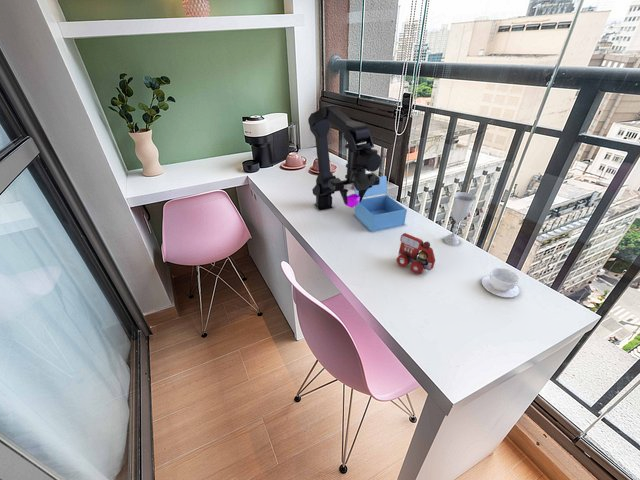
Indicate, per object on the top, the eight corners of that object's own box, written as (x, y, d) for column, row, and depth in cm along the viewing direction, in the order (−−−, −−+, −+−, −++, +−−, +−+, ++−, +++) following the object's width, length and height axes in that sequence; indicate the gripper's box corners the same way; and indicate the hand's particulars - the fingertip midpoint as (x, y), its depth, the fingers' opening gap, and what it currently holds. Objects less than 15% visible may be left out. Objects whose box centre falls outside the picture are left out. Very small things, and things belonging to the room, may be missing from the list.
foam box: (354, 215, 132) (355, 200, 128) (384, 209, 136) (387, 194, 132) (371, 231, 120) (373, 216, 116) (404, 225, 124) (407, 209, 120)
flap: (355, 198, 127) (355, 198, 128) (387, 193, 131) (386, 193, 131) (354, 180, 125) (354, 180, 126) (386, 175, 129) (385, 175, 129)
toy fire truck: (425, 278, 96) (432, 252, 90) (391, 262, 104) (396, 236, 98) (435, 269, 100) (443, 242, 94) (402, 254, 108) (407, 228, 102)
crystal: (358, 209, 116) (358, 197, 113) (343, 207, 117) (344, 196, 114) (360, 203, 120) (361, 192, 117) (346, 201, 121) (347, 190, 118)
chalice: (446, 234, 118) (459, 190, 107) (464, 240, 114) (479, 195, 103) (438, 241, 113) (450, 196, 103) (456, 248, 109) (470, 202, 99)
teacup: (502, 302, 87) (508, 290, 84) (473, 282, 95) (478, 270, 92) (526, 292, 90) (533, 280, 87) (497, 273, 98) (502, 261, 95)
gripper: (340, 174, 100) (338, 216, 109) (390, 166, 105) (384, 208, 114) (327, 163, 109) (327, 203, 118) (374, 157, 113) (370, 196, 122)
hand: (352, 202), depth 118 cm, fingers closed on crystal, 6 cm apart
